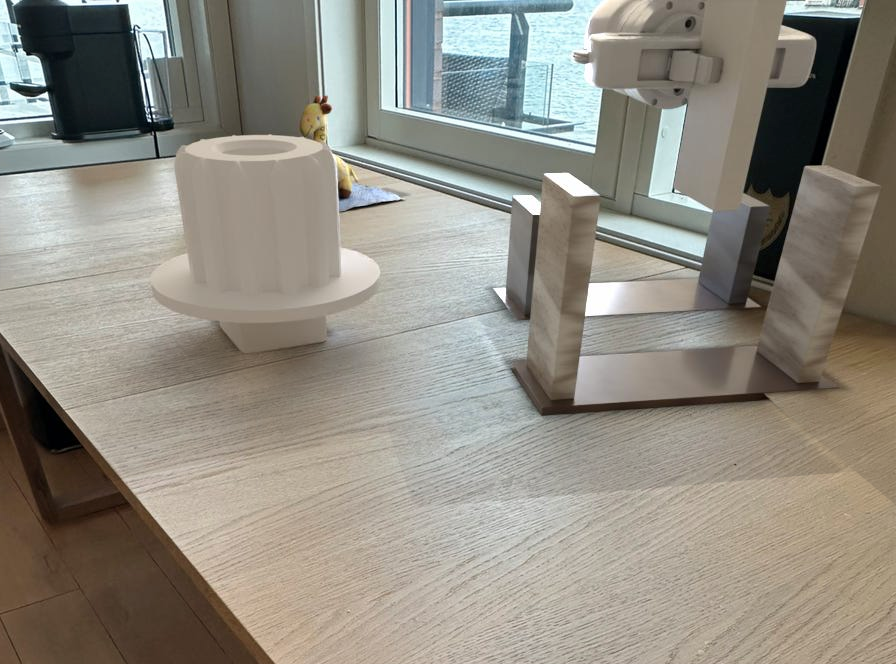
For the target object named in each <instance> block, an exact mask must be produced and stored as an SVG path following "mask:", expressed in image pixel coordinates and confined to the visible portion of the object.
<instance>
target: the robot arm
mask: <svg viewBox="0 0 896 664" xmlns="http://www.w3.org/2000/svg"><path fill="white" fill-rule="evenodd" d="M706 3H707V0H603V1H602V2H600V3H599V5H597V7H595V9H594V10H593V12H592V14H591V15H590V17H589V19H588V22H587V25H586V29H585V34H584V48H583V49H578V50H577V49H575V50H573V51H572V54H571V62H573V63H576V64H580V65H585V68H584V69H585V70H584V79H585V80H586V82H587V83H589V84H590V85H591V86H593V87H595V88H598V89H602V90H603V89H604V90H613V91H614V92H617V93H619V94H621V95H624V96H628V97H631V98H632V99H634V100H636V101H638V102H641V103H643V104H646V105H648V106H651V107H654V108H656V109H658V110H659V109H660V110H674V109H678V108H681V107H683V106H686V105H688V103H689V97H690V91H691V88H693V87H694V86H695V82H699V83H702V84H703V83H718V82H719V81H720V79H721V70H722V69H723V64H724V60H723V58H721V57H717V56H705V55H700V54H697V53H698V49H702V40H701V39H700V36H701V30H702V25H703V19H704V14H705V8H706ZM816 51H817V39H816V37H815V36H813V35H811V34H809V33H807V32H804V31H801V30H798V29H795V28H792V27H790V26H786V25H783V24H781V29H780V33H779V37H778V42H777V46H776V50H775V55H774V59H773V64H772V68H771V72H770V77H769V81H768V86H767V89H770V88H771V89H773V88H774V89H775V88H777V89H779V88H780V89H781V88H783V89H785V88H786V89H787V88H789V89H790V88H791V89H793V88H800V87H802V86H804V85H805V84H806V83H807V82H808V80H809V78H810V75H811V72H812V68H813V65H814V61H815V55H816Z"/></svg>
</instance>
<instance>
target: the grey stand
mask: <svg viewBox="0 0 896 664" xmlns="http://www.w3.org/2000/svg"><path fill="white" fill-rule="evenodd" d="M540 206H541V201H539V200H538V199H537V198H535V197H534V196H533V195H530V194H529V195H512V196H511V208H510V209H511V210H510V223H509V239H508V251H507V252H508V253H507V266H506V267H507V268H506V280H505V281H506V282H505V287H493V288H492V290H493V291H494V292H495V293H496V295H497V297H499V299H500V300H501V302H502V303H503V304H504V305H505V307H506V308H507V309H508V310H509V312H510V313H511V315H512V316H513V317H514V318H515V320H516V321H530V316H531V305H532V294H533V283H534V272H535V261H536V250H537V239H538V228H539V217H540ZM770 208H771V205H768V204H767V203H765V202H763V201H761V200H758V199H757V198H755V197H752V196H750V195H748V194H747V193H745V192H743V195H742V199H741V204H740V208H739V210H738V211H713V210H712V213H711V218H710V222H709V227H708V232H707V236H706V242H705V247H704V251H703V256H702V259H701V260H702V261H701V265H700V270H699V275H698V277H697V278H679V279H678V278H677V279H657V280H655V279H654V280H637V281H636V280H635V281H615V282H594V283H593V282H592V283H589V290H588V298H587V305H586V313H585V318H586V317H587V318H589V317H606V316H622V315H623V316H624V315H642V314H660V313H662V314H663V313H678V312H679V313H681V312H697V311H700V312H701V311H717V310H718V311H719V310H737V309H753V308H762V306H761V305H760V304H759V303H757V302H755V300H753V299H751V298H750V297H749V293H750V290H751V285H752V282H753V278H754V273H755V271H756V270H755V269H756V264H757V263H758V257H759V252H760V249H761V246H762V245H761V244H762V241H763V237H764V234H765V233H764V232H765V230H766V225H767V221H768V217H769V212H770Z"/></svg>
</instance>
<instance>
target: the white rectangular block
mask: <svg viewBox="0 0 896 664" xmlns="http://www.w3.org/2000/svg"><path fill="white" fill-rule="evenodd" d="M787 2H788V0H707V3H706V8H705V14H704V19H703V25H702V30H701V36H700V39H701V40H702V49H698V53H697V54H700V55H705V56H717V57H721V58H723V60H724V64H723V69H722V70H721V79H720V81H719V82H718V83H703V84H702V83H699V82H695V86H694V87H693V88H691V91H690V97H689V103H688V104H687V108H686V114H685V118H684V119H685V120H684V125H683V129H682V137H681V141H680V147H679V154H678V158H677V163H676V170H675V174H674V175H675V176H674V179H673V186H672V188H673V189H674V190H676V191H678V192H679V193H681V194H682V195H684V196H686V197H688V198H689V199H691V200H693V201H695V202H697V203H699V204H700V205H702V206H704V207H705V208H707V209H709V210H710V211H712V212H713V211H738V210H739V208H740V204H741V199H742V195H743V193H744V192H745V191H744V190H745V186H746V182H747V178H748V174H749V169H750V165H751V164H750V163H751V160H752V156H753V151H754V146H755V143H756V138H757V133H758V129H759V125H760V121H761V115H762V111H763V107H764V102H765V98H766V94H767V89H768V88H767V86H768V81H769V77H770V72H771V68H772V64H773V59H774V55H775V50H776V46H777V42H778V37H779V33H780V29H781V25H783V24H782V23H783V20H784V16H785V11H786V6H787Z"/></svg>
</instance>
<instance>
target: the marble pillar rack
mask: <svg viewBox="0 0 896 664" xmlns="http://www.w3.org/2000/svg"><path fill="white" fill-rule="evenodd" d="M881 189H882V185H880V184H877V183H876V182H875V183H874V182H872V181H870V180H867V179H864V178H861V177H860V176H859V177H858V176H857V175H853V174H851V173H848V172H846V171H843V170H840V169H837V168H835V167H832V166H830V165H828V164H827V165H825V164H824V165H805V166H804V167H803V172H802V175H801V179H800V183H799V187H798V189H797V193H796V198H795V200H794V201H795V202H794V206H793V209H792V213H791V217H790V221H789V223H788V224H789V225H788V229H787V232H786V236H785V240H784V244H783V247H782V252H781V255H780V259H779V263H778V266H777V270H776V274H775V278H774V282H773V285H772V288H771V293H770V297H769V301H768V304H767V308H766V312H765V316H764V320H763V324H762V328H761V331H760V335H759V340H758V343H757V345H743V346H729V347H713V348H711V347H710V348H698V349H697V348H696V349H682V350H681V349H679V350H665V351H664V350H663V351H649V352H647V351H645V352H631V353H630V352H629V353H613V354H598V355H581V350H582V344H583V343H582V341H583V335H584V327H585V320H586V317H585V313H586V305H587V298H588V290H589V284H590V282H591V273H592V266H593V259H594V252H595V251H594V250H595V244H596V235H597V227H598V222H599V221H598V220H599V213H600V207H601V205H600V204H601V198H602V197H601V196H602V195H601V194H599V192H596V191H595V190H593V189H592V188H591V187H590V186H588V185H586V184H584V183H583V182H582V181H581V180H579V179H578V178H576V177H574V176H573V175H571V174H570V173H569V172H561V173H560V172H559V173H558V172H557V173H556V172H555V173H542V185H541V197H540V203H541V206H540V217H539V228H538V239H537V250H536V261H535V272H534V283H533V294H532V305H531V316H530V320H529V329H528V337H527V338H528V340H527V348H526V349H527V350H526V359H514V360H510V363H511V364H512V366H513V367H509V368H510V370H511V372H512V373H513V375H514V376H515V378H516V379H517V380H518V382H519V383H520V385H521V387H522V388H523V390H524V392H526V394H527V396H528V397H529V399H530V400H531V402H532V403H533V405H534V406H535V408H536V409H537V411H538V412H539V414H540V415H541V416H550V415H551V416H552V415H566V414H580V413H593V412H609V411H610V412H611V411H622V410H623V411H624V410H638V409H653V408H666V407H667V408H668V407H681V406H695V405H708V404H724V403H739V402H750V401H751V402H753V401H766V400H771V399H770V397H768V396H767V395H766V394H772V393H786V392H787V393H788V392H801V391H802V392H803V391H816V390H831V389H840V387H839V386H838V385H837V384H835V383H834V382H833V381H831V380H830V379H829V378H827V377H826V376H825V375H823V371H824V369H825V365H826V362H827V359H828V357H829V354H830V349H831V346H832V343H833V341H834V337H835V334H836V331H837V327H838V325H839V322H840V319H841V315H842V312H843V308H844V306H845V303H846V299H847V296H848V293H849V290H850V286H851V284H852V281H853V277H854V274H855V271H856V269H857V264H858V262H859V259H860V255H861V252H862V249H863V245H864V242H865V239H866V236H867V233H868V230H869V227H870V223H871V220H872V218H873V214H874V211H875V208H876V205H877V202H878V198H879V196H880V192H881Z"/></svg>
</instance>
